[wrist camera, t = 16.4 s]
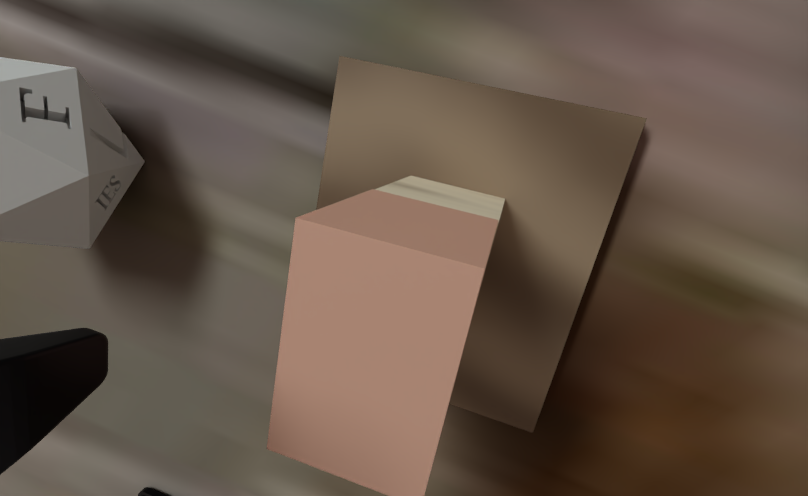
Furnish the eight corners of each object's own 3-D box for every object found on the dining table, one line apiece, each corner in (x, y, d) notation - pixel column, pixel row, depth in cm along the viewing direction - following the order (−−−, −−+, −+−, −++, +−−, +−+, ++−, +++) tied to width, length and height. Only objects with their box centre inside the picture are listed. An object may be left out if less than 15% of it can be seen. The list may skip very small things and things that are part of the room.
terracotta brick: (452, 389, 15) (420, 508, 10) (343, 354, 16) (267, 448, 11) (498, 220, 13) (484, 268, 8) (372, 189, 14) (295, 218, 9)
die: (173, 249, 24) (79, 182, 15) (-6, 284, 23) (-236, 231, 13) (153, 118, 26) (57, -15, 17) (-15, 140, 24) (-226, 6, 15)
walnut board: (532, 422, 21) (532, 432, 20) (302, 343, 23) (294, 350, 22) (641, 119, 17) (646, 118, 16) (347, 58, 19) (339, 56, 18)
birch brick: (468, 329, 20) (451, 391, 15) (384, 303, 20) (342, 354, 16) (505, 198, 18) (498, 222, 13) (410, 175, 19) (373, 190, 14)
